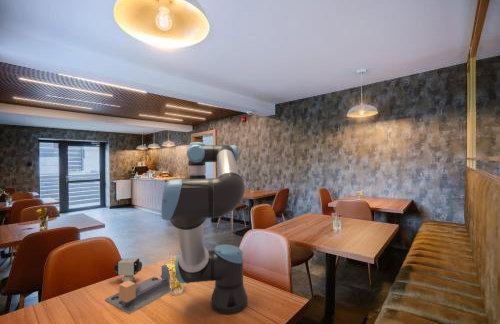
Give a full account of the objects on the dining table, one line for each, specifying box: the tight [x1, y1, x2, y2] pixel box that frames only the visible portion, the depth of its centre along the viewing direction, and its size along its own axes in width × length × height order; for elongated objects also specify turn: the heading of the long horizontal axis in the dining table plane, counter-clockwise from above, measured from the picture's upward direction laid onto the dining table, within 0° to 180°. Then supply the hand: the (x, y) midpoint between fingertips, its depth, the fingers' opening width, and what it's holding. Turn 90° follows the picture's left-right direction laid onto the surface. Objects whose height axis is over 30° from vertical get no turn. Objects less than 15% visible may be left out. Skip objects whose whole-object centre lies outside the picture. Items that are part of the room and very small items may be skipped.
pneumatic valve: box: [113, 257, 143, 283], centre depth 122 cm, size 6×12×12 cm, turn 89°
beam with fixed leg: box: [122, 264, 171, 307], centre depth 110 cm, size 6×22×8 cm, turn 148°
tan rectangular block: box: [118, 280, 136, 303], centre depth 102 cm, size 6×4×8 cm, turn 58°
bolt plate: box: [104, 276, 172, 315], centre depth 111 cm, size 18×24×1 cm
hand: (198, 223), depth 118 cm, fingers closed
